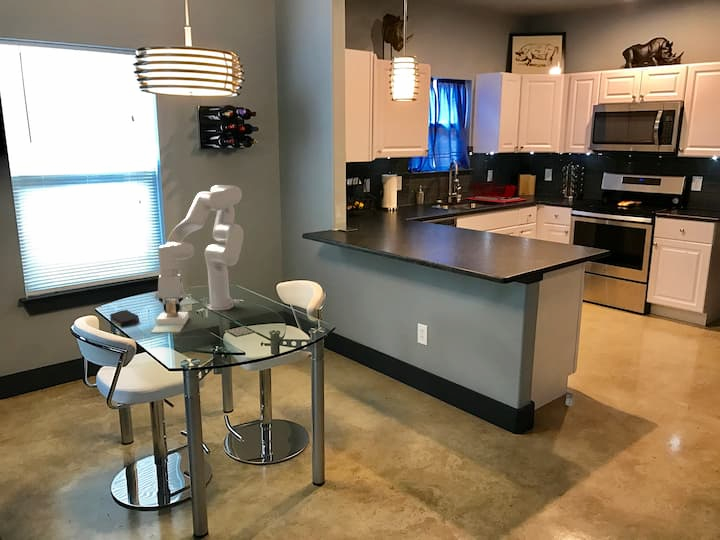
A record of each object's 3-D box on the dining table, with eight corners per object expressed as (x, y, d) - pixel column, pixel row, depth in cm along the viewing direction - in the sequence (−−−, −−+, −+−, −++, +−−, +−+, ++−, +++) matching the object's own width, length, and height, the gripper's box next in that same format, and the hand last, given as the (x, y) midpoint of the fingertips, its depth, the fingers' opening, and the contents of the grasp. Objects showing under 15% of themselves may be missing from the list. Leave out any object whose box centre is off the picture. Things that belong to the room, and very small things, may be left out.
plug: (178, 320, 262) (176, 299, 260) (176, 322, 258) (174, 301, 256) (169, 320, 262) (167, 299, 260) (167, 323, 258) (165, 301, 256)
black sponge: (141, 324, 259) (140, 316, 258) (122, 328, 253) (121, 320, 252) (126, 316, 270) (126, 309, 270) (108, 320, 265) (107, 313, 264)
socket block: (188, 318, 266) (188, 311, 265) (184, 325, 256) (183, 318, 255) (162, 319, 264) (161, 312, 264) (156, 326, 255) (156, 319, 254)
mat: (184, 326, 255) (183, 324, 255) (179, 333, 246) (179, 331, 246) (156, 327, 254) (156, 325, 254) (151, 334, 245) (150, 332, 245)
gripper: (189, 270, 259) (192, 308, 263) (151, 271, 258) (155, 310, 262) (186, 273, 252) (189, 313, 256) (147, 275, 250) (151, 315, 255)
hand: (172, 311), depth 259 cm, fingers closed on plug, 4 cm apart
